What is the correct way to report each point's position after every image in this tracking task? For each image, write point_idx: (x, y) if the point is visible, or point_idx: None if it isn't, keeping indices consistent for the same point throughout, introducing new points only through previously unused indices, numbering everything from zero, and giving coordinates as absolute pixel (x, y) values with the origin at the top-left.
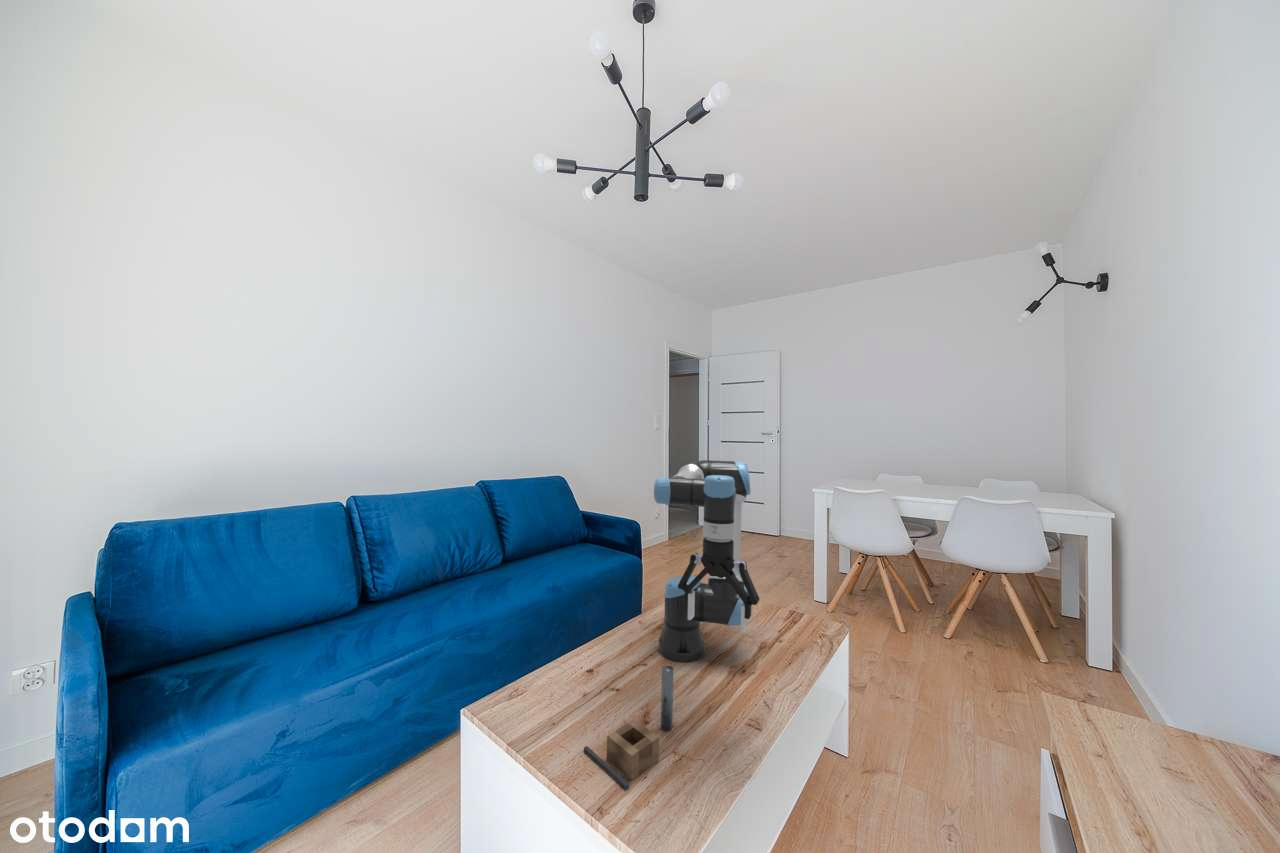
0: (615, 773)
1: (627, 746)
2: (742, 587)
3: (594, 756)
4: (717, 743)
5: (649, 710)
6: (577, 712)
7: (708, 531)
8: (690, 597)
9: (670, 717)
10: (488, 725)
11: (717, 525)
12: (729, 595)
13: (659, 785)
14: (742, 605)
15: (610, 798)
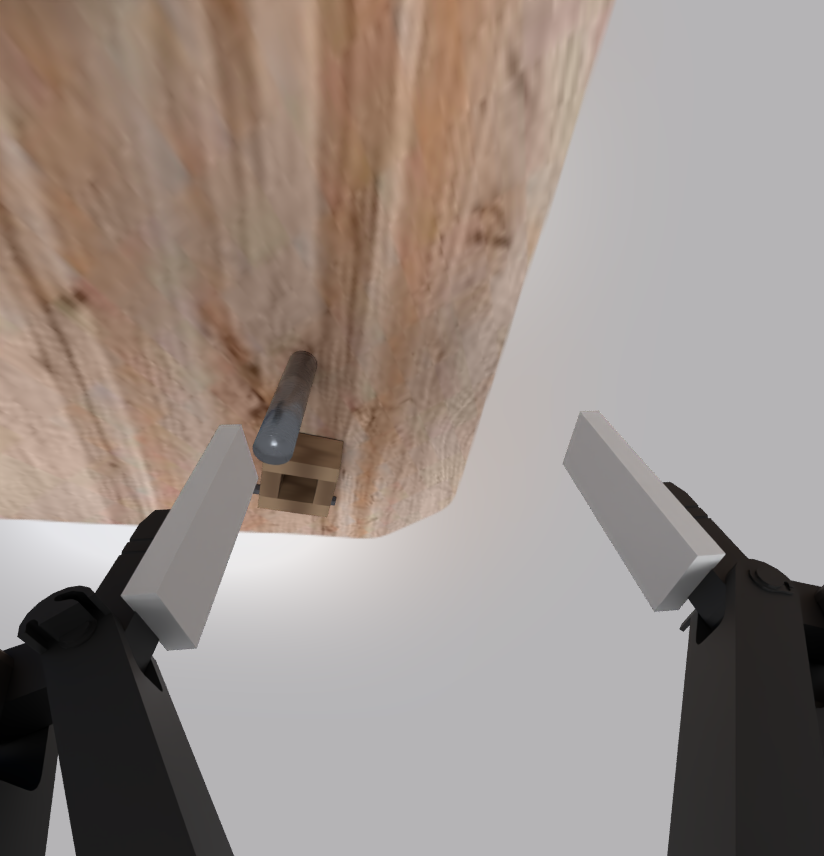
0: None
1: (306, 508)
2: (803, 747)
3: (253, 492)
4: (422, 346)
5: (227, 329)
6: (109, 421)
7: None
8: (205, 620)
9: (312, 382)
10: (38, 518)
11: None
12: None
13: (370, 472)
14: (665, 609)
15: None
